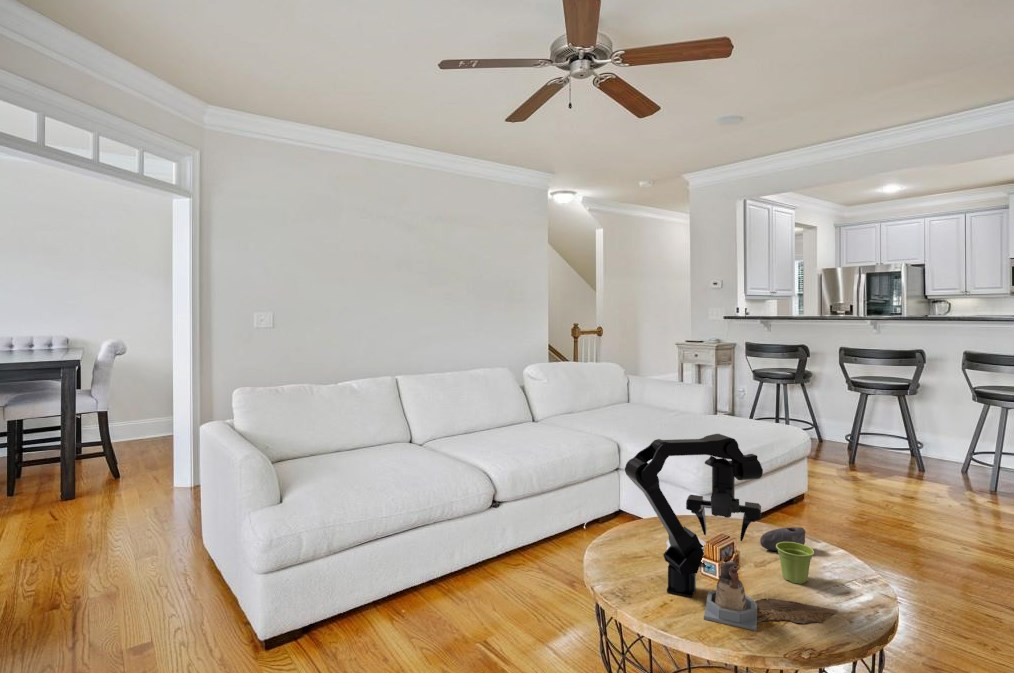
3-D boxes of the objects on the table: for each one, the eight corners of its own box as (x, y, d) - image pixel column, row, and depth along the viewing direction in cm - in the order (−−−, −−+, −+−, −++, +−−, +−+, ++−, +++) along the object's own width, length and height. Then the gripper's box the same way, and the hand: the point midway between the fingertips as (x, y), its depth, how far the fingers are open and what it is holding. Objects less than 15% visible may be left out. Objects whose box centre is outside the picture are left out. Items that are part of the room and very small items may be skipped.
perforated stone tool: (764, 554, 164) (764, 531, 164) (755, 546, 169) (755, 525, 169) (811, 553, 164) (811, 531, 164) (802, 546, 169) (802, 524, 169)
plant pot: (771, 569, 153) (771, 540, 153) (807, 572, 151) (807, 542, 151) (781, 585, 144) (781, 554, 144) (819, 588, 142) (819, 556, 142)
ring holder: (703, 619, 128) (703, 606, 128) (708, 596, 138) (708, 585, 138) (756, 631, 123) (756, 618, 123) (757, 606, 133) (757, 595, 133)
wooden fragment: (740, 623, 127) (740, 618, 127) (725, 599, 138) (725, 595, 138) (852, 628, 125) (852, 623, 124) (828, 603, 135) (828, 599, 135)
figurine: (741, 602, 134) (741, 556, 133) (750, 618, 127) (750, 569, 126) (711, 601, 135) (712, 554, 134) (719, 616, 127) (720, 567, 127)
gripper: (683, 485, 141) (683, 542, 141) (760, 494, 133) (760, 555, 133) (688, 474, 151) (688, 528, 151) (761, 482, 143) (760, 539, 143)
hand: (723, 537), depth 144 cm, fingers open, 9 cm apart
